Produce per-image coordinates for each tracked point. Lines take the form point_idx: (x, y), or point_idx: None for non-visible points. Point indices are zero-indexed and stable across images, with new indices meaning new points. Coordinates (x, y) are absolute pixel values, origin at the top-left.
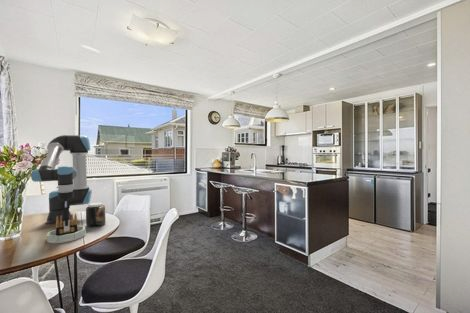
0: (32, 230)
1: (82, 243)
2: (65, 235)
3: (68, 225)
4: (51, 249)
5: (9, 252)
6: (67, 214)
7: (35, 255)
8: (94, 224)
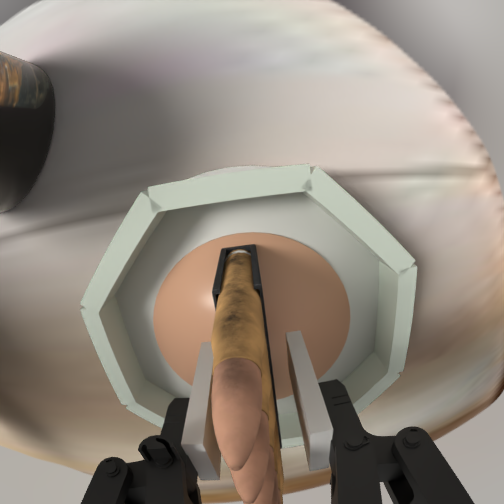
0: (53, 451)
1: (470, 183)
2: (410, 328)
3: (314, 378)
4: (451, 342)
5: None
6: (458, 499)
7: (467, 376)
8: (38, 124)
